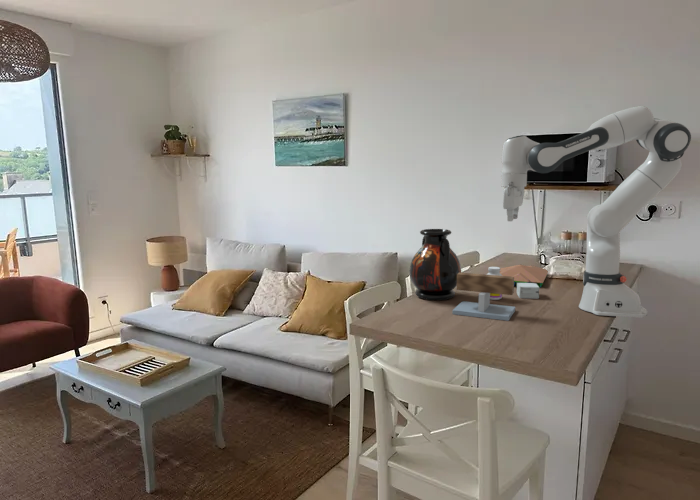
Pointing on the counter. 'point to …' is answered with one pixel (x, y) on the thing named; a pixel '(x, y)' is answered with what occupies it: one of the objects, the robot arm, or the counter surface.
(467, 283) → the wooden block
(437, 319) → the counter surface
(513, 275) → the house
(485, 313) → the balance stand
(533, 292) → the small box
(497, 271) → the supplement bottle
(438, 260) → the amphora vase
